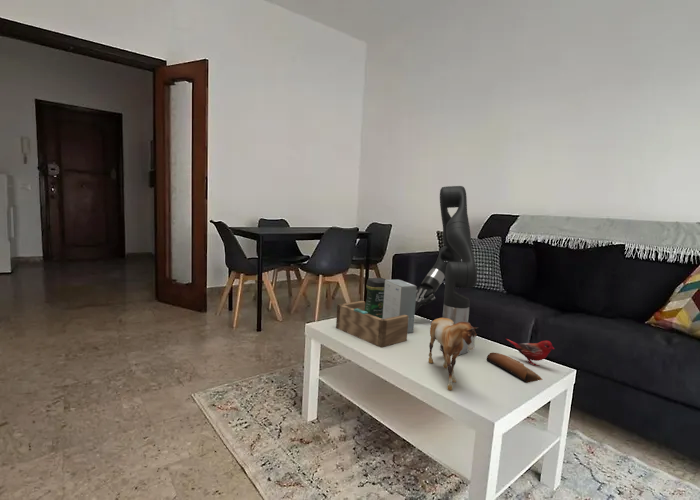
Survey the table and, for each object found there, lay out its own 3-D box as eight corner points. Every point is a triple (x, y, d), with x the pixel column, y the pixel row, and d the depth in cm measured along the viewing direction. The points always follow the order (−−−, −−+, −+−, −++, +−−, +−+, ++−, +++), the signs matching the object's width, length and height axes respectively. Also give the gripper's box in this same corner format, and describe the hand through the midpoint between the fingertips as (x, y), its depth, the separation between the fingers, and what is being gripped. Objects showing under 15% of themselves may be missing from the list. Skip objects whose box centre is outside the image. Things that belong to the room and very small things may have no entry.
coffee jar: (369, 320, 183) (372, 280, 181) (361, 315, 190) (364, 276, 188) (388, 318, 187) (390, 279, 185) (379, 313, 194) (382, 276, 192)
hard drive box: (414, 333, 168) (417, 286, 166) (397, 334, 166) (401, 286, 163) (396, 322, 183) (399, 278, 180) (381, 323, 180) (384, 279, 177)
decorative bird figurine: (550, 372, 134) (553, 343, 133) (501, 355, 148) (504, 328, 147) (554, 370, 136) (557, 342, 135) (505, 353, 150) (508, 327, 149)
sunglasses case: (545, 379, 128) (539, 363, 126) (530, 392, 126) (523, 376, 124) (504, 358, 145) (498, 343, 143) (490, 369, 143) (484, 355, 141)
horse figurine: (473, 397, 113) (479, 327, 111) (445, 397, 113) (452, 325, 111) (443, 355, 144) (447, 299, 142) (421, 355, 144) (426, 298, 141)
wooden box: (406, 340, 158) (408, 314, 157) (381, 347, 149) (383, 319, 148) (360, 322, 178) (362, 299, 177) (336, 327, 169) (337, 303, 168)
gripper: (418, 272, 189) (399, 301, 183) (441, 277, 179) (421, 308, 173) (425, 283, 193) (406, 311, 187) (447, 288, 183) (428, 318, 177)
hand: (413, 309), depth 180 cm, fingers closed
